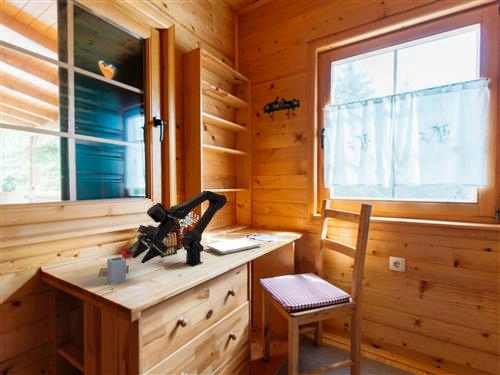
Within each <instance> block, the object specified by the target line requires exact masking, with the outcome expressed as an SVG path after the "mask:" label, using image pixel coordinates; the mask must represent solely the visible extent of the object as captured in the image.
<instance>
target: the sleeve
mask: <svg viewBox="0 0 500 375" xmlns="http://www.w3.org/2000/svg"><path fill="white" fill-rule="evenodd" d="M126 266H127V258H125V257H122V256H118V257H117V256H116V257H112V258H107V267H106V268H107V276H106V277H107V278H106V279H107V282H108V283H109V284H110V285H117V284H120V283H125V282H127V274H126Z"/></svg>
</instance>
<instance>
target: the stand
mask: <svg viewBox="0 0 500 375" xmlns="http://www.w3.org/2000/svg"><path fill="white" fill-rule="evenodd" d="M129 268H130V265H129V264H128V265H127V264H126V275H127V274H129ZM101 277H107V267H102V268H100V269H99V272H98V275H97V278H101Z"/></svg>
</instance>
